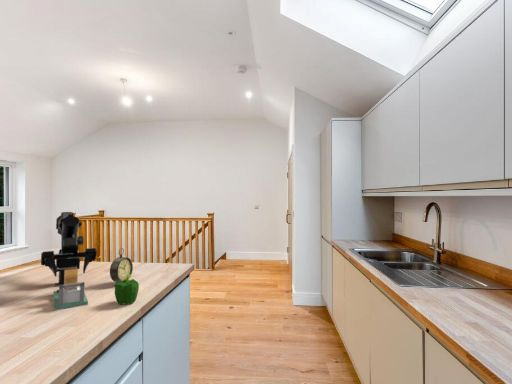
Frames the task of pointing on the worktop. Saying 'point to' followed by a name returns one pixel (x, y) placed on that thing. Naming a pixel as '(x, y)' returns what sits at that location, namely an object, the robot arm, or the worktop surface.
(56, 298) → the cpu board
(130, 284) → the bell pepper
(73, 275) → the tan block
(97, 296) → the worktop surface
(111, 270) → the alarm clock
